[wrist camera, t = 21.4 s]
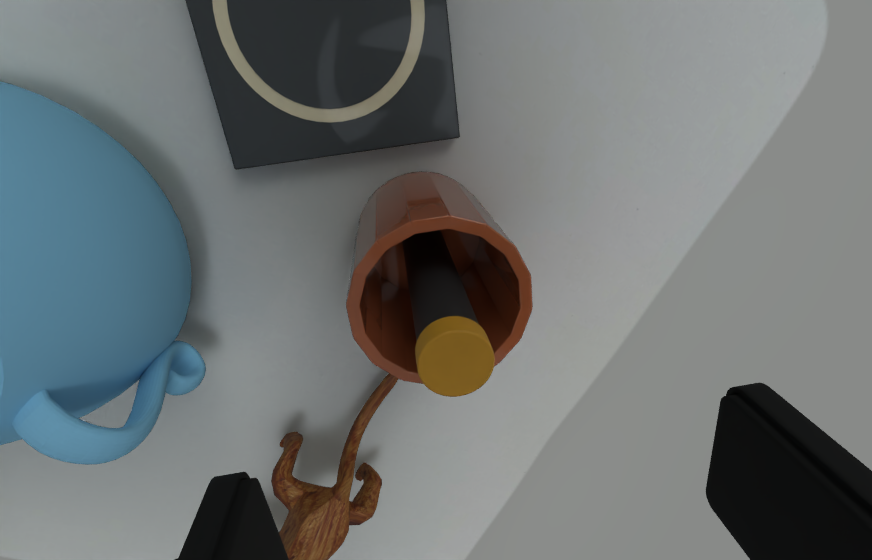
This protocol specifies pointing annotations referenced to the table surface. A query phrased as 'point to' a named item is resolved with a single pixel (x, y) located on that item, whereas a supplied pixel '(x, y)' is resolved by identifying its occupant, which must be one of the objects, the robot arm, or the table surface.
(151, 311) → the teapot
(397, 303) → the pen cup
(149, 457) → the table surface
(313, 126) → the slate
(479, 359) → the marker
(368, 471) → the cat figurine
